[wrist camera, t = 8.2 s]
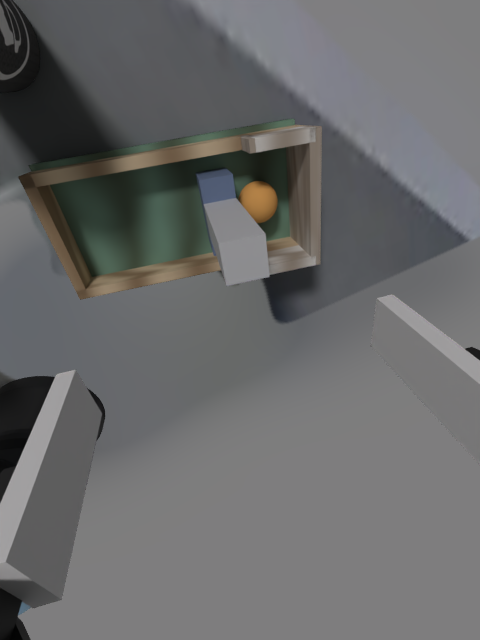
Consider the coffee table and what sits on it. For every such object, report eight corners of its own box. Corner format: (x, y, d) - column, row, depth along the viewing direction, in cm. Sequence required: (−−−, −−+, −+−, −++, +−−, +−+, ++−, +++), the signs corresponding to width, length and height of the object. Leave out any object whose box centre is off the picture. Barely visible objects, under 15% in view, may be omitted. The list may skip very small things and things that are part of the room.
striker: (209, 240, 34) (231, 311, 22) (195, 172, 30) (212, 210, 18) (235, 235, 35) (272, 301, 22) (225, 167, 31) (262, 200, 18)
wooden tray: (91, 284, 36) (73, 321, 30) (34, 163, 29) (-6, 176, 22) (294, 242, 38) (320, 268, 32) (289, 118, 31) (321, 118, 24)
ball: (269, 213, 34) (236, 221, 34) (266, 174, 32) (230, 182, 31) (285, 222, 31) (248, 231, 30) (283, 180, 29) (243, 189, 28)
